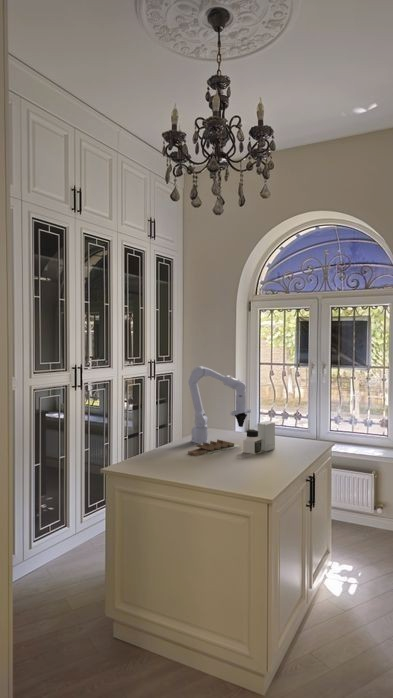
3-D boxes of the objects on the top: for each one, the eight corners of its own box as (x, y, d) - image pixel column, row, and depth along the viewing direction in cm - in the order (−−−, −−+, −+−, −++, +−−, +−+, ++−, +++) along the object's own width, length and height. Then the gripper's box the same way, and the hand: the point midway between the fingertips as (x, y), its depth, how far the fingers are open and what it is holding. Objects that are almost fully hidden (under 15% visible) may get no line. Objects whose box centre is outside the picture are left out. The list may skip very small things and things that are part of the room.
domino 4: (227, 444, 258) (216, 442, 252) (228, 442, 258) (217, 439, 253) (233, 446, 254) (222, 443, 249) (234, 443, 255) (223, 440, 249)
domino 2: (214, 447, 251) (202, 445, 246) (214, 444, 252) (203, 442, 246) (220, 449, 248) (209, 446, 242) (221, 446, 248) (209, 443, 242)
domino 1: (207, 449, 248) (195, 446, 242) (208, 446, 248) (196, 443, 243) (213, 451, 244) (201, 448, 239) (214, 448, 245) (202, 445, 239)
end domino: (201, 450, 245) (188, 454, 239) (200, 447, 245) (187, 451, 239) (207, 452, 241) (194, 456, 235) (207, 449, 241) (194, 453, 235)
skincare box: (267, 447, 254) (267, 420, 253) (275, 449, 249) (275, 422, 248) (256, 449, 248) (256, 422, 248) (265, 451, 244) (265, 424, 243)
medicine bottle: (254, 454, 238) (254, 431, 237) (243, 452, 242) (243, 430, 242) (261, 452, 244) (261, 429, 243) (250, 450, 248) (250, 427, 247)
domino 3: (221, 446, 255) (209, 443, 249) (221, 443, 255) (210, 440, 249) (227, 448, 251) (216, 445, 245) (228, 445, 251) (216, 442, 246)
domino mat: (196, 451, 245) (196, 450, 245) (230, 443, 262) (230, 443, 262) (206, 454, 239) (206, 453, 239) (241, 446, 256) (241, 445, 256)
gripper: (236, 405, 253) (236, 429, 253) (254, 402, 263) (254, 425, 263) (227, 403, 258) (227, 427, 259) (245, 401, 268) (245, 424, 268)
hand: (240, 426), depth 261 cm, fingers closed
